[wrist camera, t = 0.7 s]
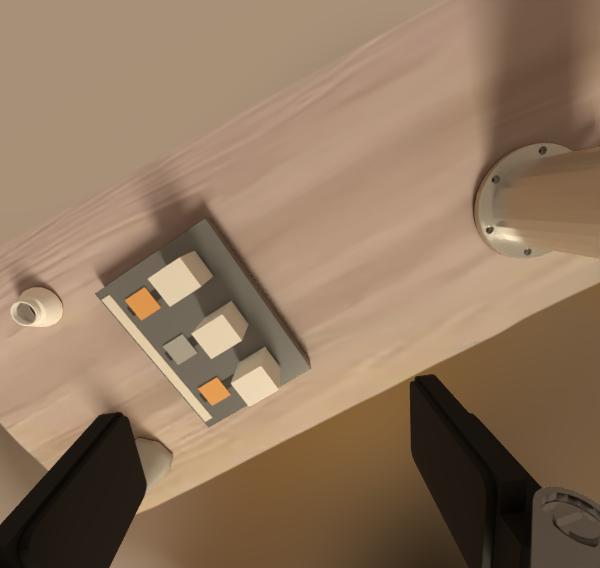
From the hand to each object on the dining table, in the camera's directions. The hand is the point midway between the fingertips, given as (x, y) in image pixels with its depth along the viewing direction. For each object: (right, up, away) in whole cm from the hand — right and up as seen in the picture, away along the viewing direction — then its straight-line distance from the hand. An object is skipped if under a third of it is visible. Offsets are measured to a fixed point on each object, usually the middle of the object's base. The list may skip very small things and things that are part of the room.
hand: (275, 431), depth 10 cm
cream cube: (-4, -5, +28) cm, 29 cm away
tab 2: (-8, 0, +26) cm, 27 cm away
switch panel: (-11, -1, +29) cm, 30 cm away
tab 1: (-12, +6, +25) cm, 28 cm away
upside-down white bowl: (-31, +2, +28) cm, 42 cm away
